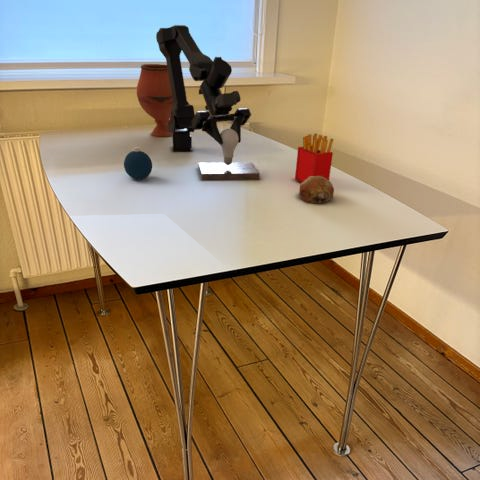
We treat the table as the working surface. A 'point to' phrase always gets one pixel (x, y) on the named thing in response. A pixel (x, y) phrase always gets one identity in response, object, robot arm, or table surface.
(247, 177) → the walnut board
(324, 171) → the french fries container
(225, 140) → the lightbulb
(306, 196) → the bread roll
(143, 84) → the goblet
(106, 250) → the table surface
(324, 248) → the table surface
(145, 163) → the christmas ornament
